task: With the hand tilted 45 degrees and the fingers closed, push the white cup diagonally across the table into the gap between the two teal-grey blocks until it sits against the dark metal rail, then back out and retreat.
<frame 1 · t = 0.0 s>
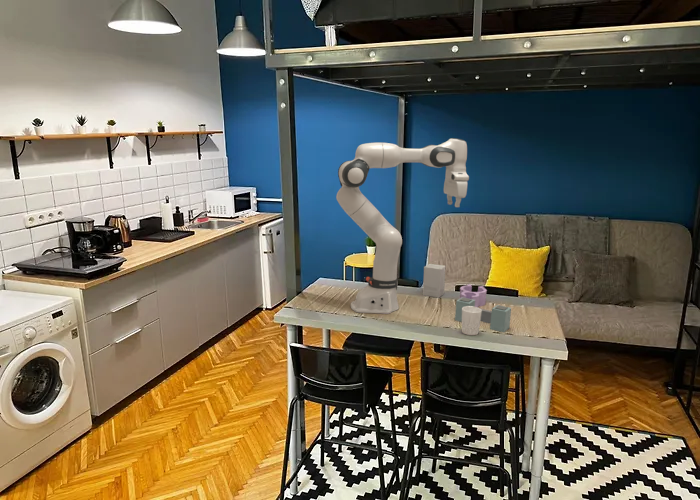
hand: (453, 205, 229), 48 cm above the table, tool pointing down, fingers open, 8 cm apart
supplement box: (433, 294, 257), on the table
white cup: (470, 332, 207), on the table
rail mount: (480, 324, 215), on the table
clip: (471, 304, 244), on the table
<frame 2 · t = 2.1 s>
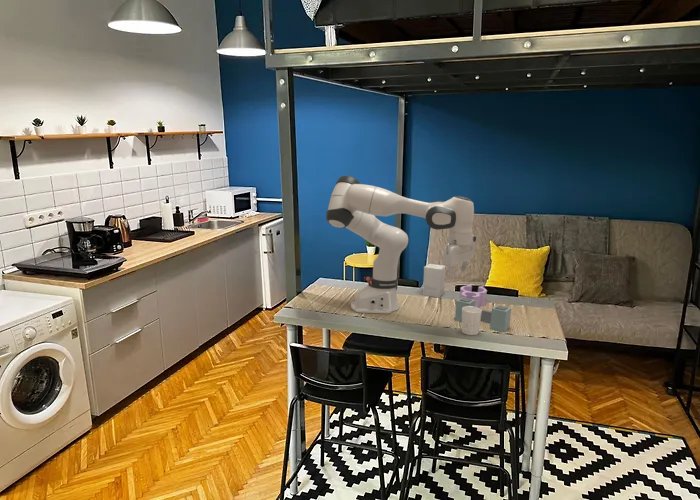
hand: (457, 273, 196), 26 cm above the table, tool pointing down, fingers open, 8 cm apart
nothing on the table moved.
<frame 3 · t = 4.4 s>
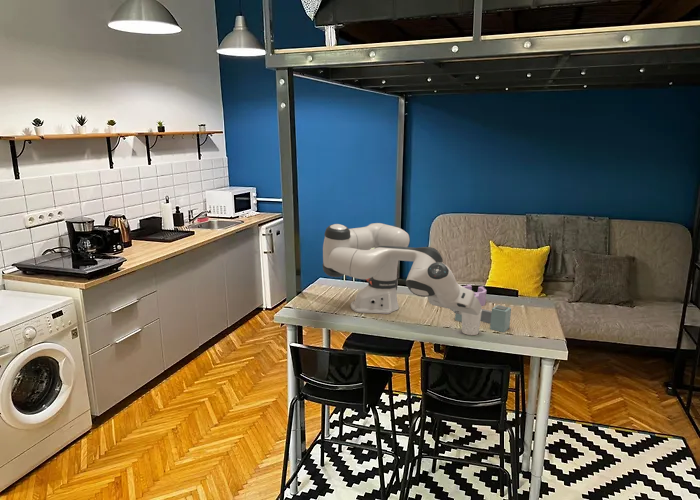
hand: (458, 312, 194), 12 cm above the table, tool tilted 45°, fingers closed
nothing on the table moved.
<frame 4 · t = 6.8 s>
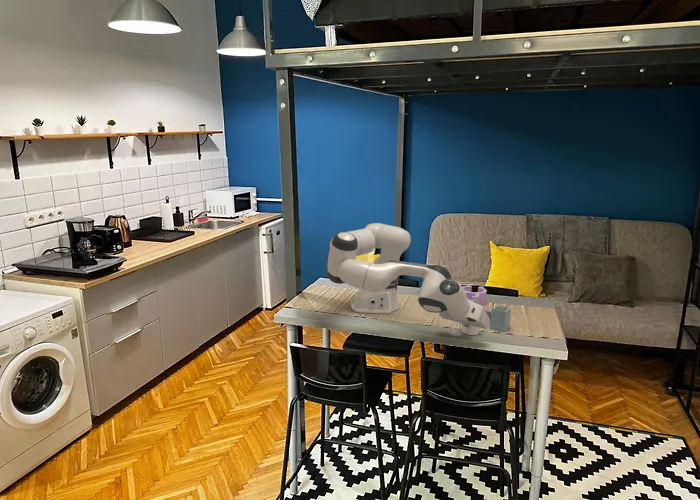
hand: (468, 325, 202), 4 cm above the table, tool tilted 45°, fingers closed
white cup: (470, 332, 207), on the table, touching gripper
everything else where it was.
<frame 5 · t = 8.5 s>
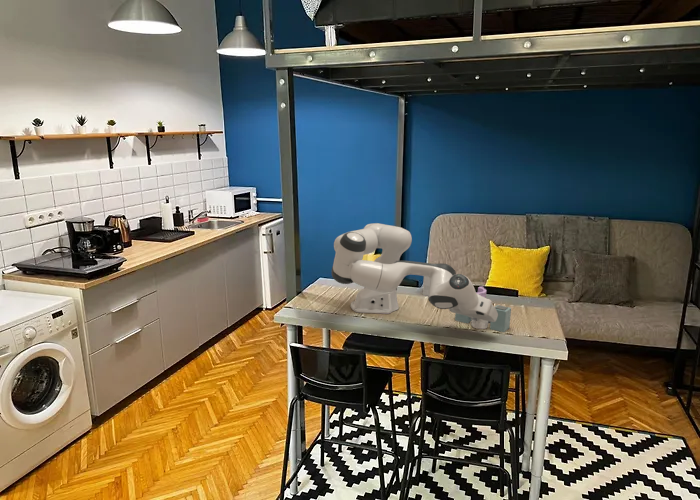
hand: (476, 319, 210), 4 cm above the table, tool tilted 45°, fingers closed, pressing on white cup
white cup: (479, 326, 214), on the table, touching gripper
everything else where it was.
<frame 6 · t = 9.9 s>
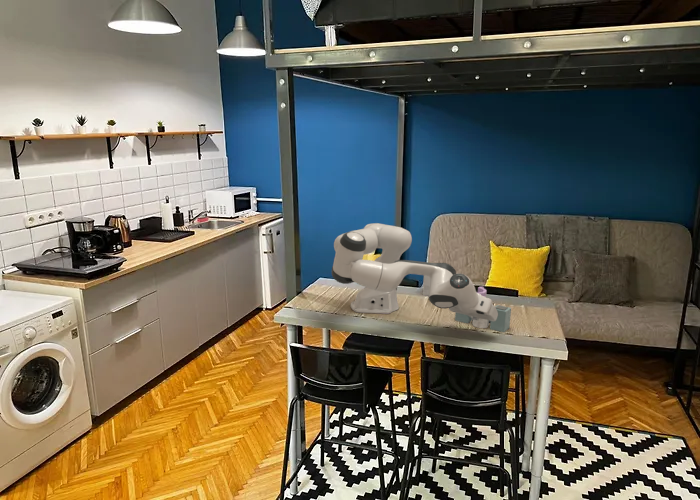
hand: (476, 318, 210), 5 cm above the table, tool tilted 45°, fingers closed
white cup: (480, 326, 215), on the table
everything else where it was.
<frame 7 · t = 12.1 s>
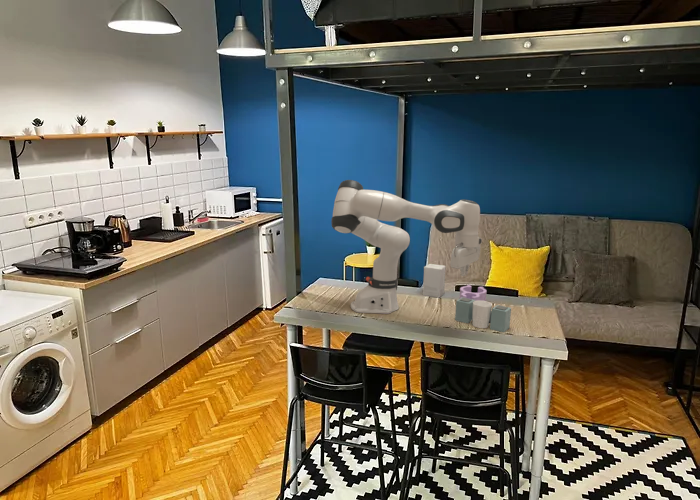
hand: (463, 275, 200), 25 cm above the table, tool pointing down, fingers closed
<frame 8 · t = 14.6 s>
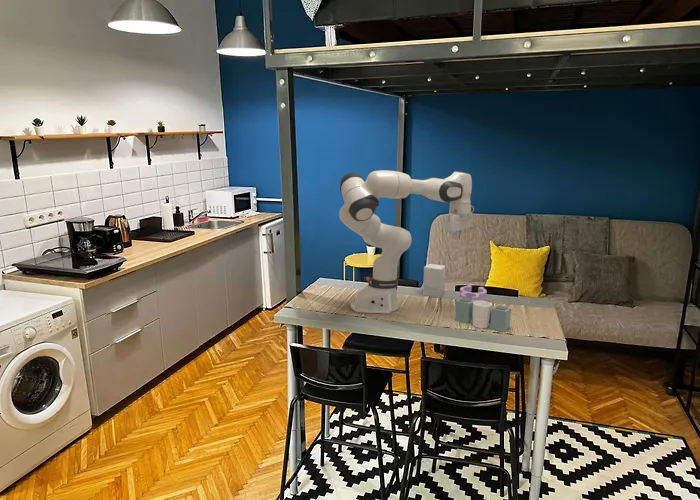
hand: (457, 239, 223), 34 cm above the table, tool pointing down, fingers closed
at the end: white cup 0.8 cm from the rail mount (horizontally); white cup tilted 0°; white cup moved 10.3 cm from its start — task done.
